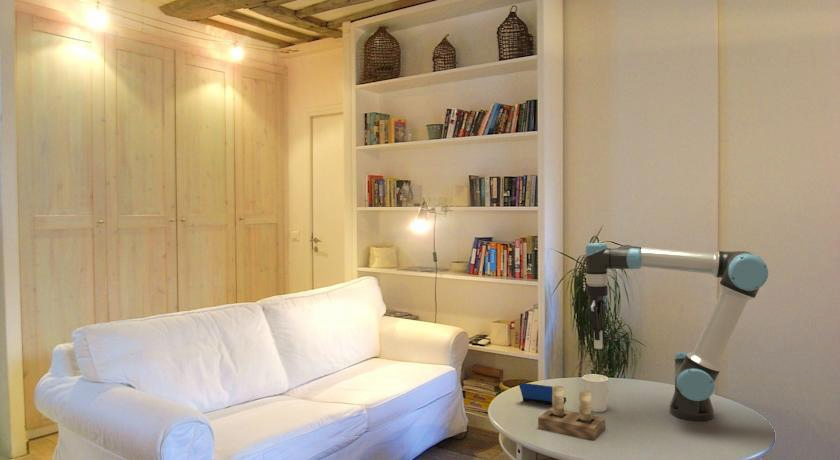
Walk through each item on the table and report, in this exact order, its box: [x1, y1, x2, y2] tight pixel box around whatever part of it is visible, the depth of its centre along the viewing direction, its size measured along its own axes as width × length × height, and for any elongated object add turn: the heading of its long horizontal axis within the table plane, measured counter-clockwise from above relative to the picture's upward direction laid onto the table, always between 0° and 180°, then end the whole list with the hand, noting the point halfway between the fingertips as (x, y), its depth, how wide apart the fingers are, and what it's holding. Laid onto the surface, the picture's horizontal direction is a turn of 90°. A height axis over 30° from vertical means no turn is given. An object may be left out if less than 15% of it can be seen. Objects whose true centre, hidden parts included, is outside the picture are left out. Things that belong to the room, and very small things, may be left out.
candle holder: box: [581, 373, 610, 413], centre depth 233 cm, size 10×10×12 cm
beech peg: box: [551, 385, 565, 418], centre depth 216 cm, size 4×4×14 cm
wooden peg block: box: [537, 389, 606, 441], centre depth 213 cm, size 20×12×14 cm, turn 55°
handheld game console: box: [518, 382, 567, 406], centre depth 241 cm, size 16×13×9 cm
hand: (598, 348), depth 223 cm, fingers closed
